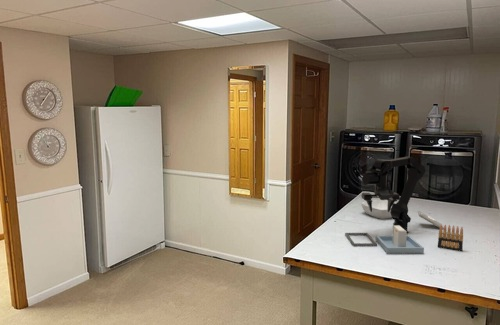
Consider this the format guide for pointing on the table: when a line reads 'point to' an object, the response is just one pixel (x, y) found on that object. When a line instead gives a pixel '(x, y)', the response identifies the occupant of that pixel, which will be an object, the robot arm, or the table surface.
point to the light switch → (429, 219)
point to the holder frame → (360, 243)
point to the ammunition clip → (451, 238)
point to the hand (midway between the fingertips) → (379, 211)
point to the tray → (390, 248)
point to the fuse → (399, 236)
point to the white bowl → (378, 209)
